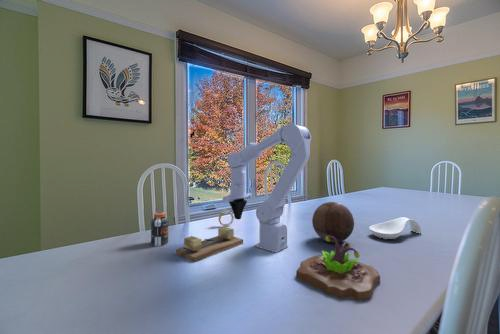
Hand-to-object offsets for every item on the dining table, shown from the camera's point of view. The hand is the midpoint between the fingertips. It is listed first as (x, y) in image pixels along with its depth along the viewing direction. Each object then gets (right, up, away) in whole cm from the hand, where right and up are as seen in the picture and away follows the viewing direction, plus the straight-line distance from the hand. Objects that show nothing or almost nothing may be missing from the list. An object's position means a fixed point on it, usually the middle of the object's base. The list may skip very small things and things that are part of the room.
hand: (237, 218), depth 98 cm
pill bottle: (-28, -8, -5) cm, 30 cm away
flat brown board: (-9, -8, -10) cm, 16 cm away
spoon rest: (+65, -9, +6) cm, 66 cm away
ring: (-6, -7, +18) cm, 20 cm away
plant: (+28, -10, -30) cm, 42 cm away
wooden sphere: (+36, -8, -2) cm, 37 cm away
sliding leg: (-5, -6, -4) cm, 9 cm away
